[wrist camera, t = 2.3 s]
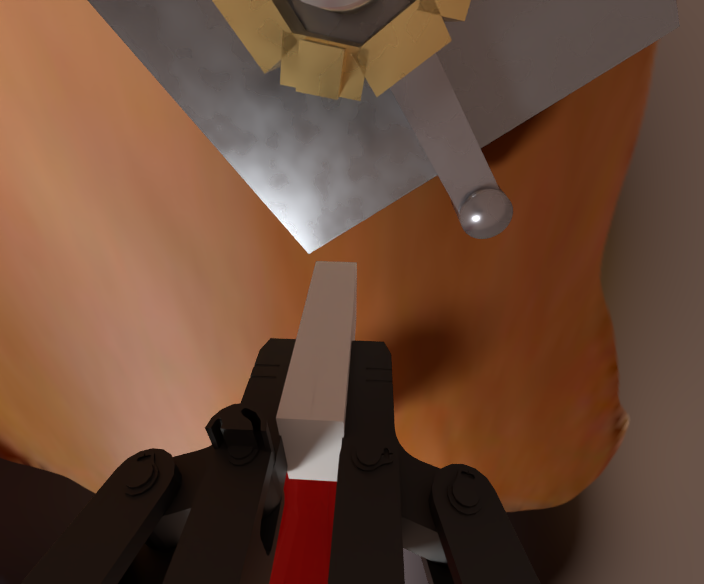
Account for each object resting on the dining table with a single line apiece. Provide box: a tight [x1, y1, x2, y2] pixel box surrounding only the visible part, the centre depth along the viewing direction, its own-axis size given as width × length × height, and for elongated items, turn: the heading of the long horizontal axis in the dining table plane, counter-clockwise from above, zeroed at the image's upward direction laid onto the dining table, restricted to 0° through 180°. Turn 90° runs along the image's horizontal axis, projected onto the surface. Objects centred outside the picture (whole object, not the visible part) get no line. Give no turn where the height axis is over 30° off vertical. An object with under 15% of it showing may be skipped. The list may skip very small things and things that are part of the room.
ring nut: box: [212, 0, 513, 239], centre depth 16 cm, size 21×11×6 cm, turn 35°
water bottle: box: [269, 473, 337, 584], centre depth 34 cm, size 9×11×25 cm
